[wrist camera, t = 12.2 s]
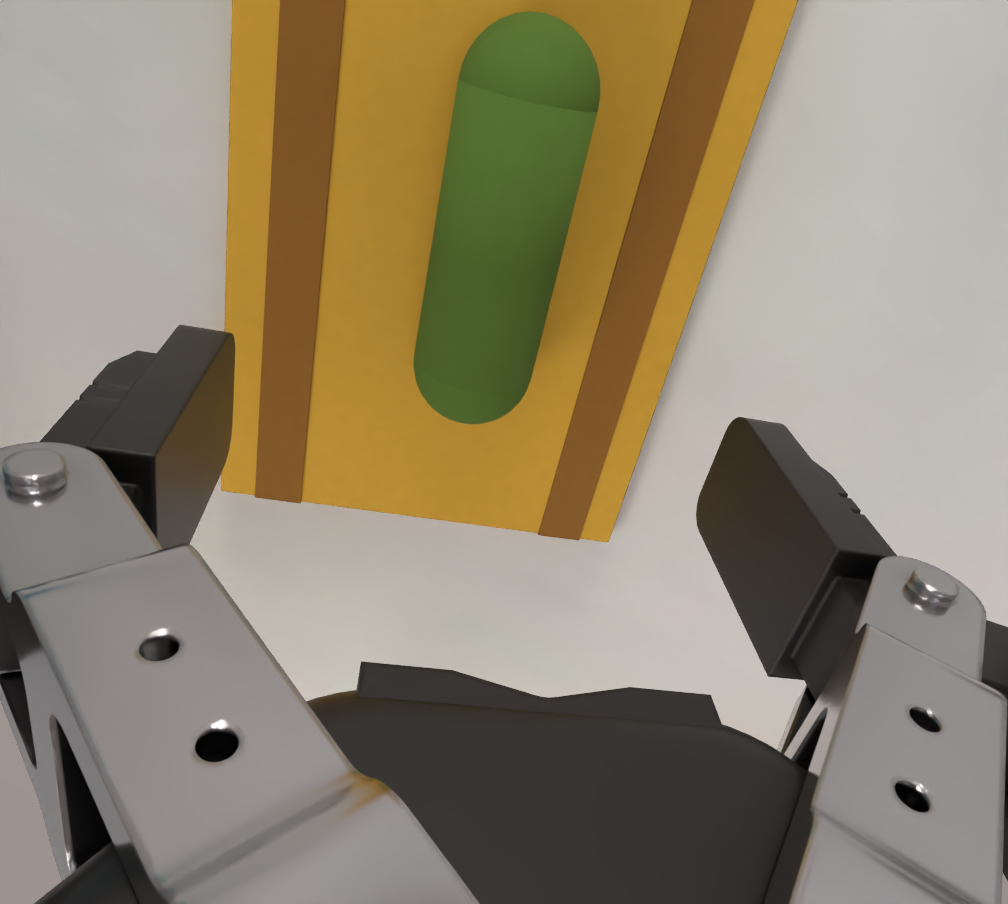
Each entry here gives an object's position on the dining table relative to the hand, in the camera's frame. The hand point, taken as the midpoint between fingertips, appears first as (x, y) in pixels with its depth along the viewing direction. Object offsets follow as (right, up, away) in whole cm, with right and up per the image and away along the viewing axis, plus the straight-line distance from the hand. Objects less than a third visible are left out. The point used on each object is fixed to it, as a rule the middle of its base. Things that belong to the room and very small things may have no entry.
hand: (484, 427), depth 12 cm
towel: (0, +7, +11) cm, 13 cm away
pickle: (0, +6, +10) cm, 12 cm away
